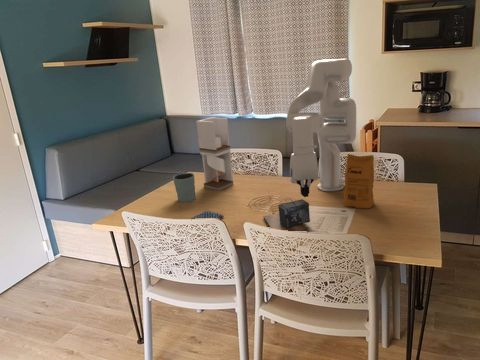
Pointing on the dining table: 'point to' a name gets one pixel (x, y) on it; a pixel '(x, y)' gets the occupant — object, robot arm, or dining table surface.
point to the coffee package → (359, 181)
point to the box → (294, 213)
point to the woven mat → (209, 215)
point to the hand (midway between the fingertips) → (305, 195)
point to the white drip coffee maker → (215, 152)
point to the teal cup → (185, 187)
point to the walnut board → (274, 222)
